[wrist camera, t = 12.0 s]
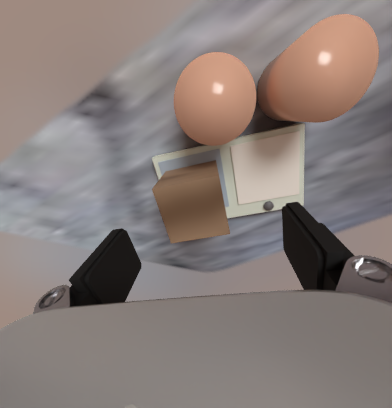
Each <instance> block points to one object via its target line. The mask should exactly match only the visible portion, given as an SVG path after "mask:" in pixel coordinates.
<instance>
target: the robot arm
mask: <svg viewBox="0 0 392 408" xmlns="http://www.w3.org/2000/svg"><path fill="white" fill-rule="evenodd" d="M282 219H283V245H284V251H285V253H286V255H287V257H288V259H289V261H290V263H291V265H292V267H293V269H294V271H295V273H296V275H297V277H298V279H299V281H300V283H301V285H302V287H303V288H304V290H291V291H290V290H289V291H271V292H254V293H240V294H227V295H226V294H225V295H211V296H197V297H184V298H171V299H157V300H145V301H132V302H125V300H126V298H127V296H128V294H129V292H130V290H131V288H132V286H133V284H134V281H135V279H136V277H137V275H138V273H139V271H140V269H141V262H140V259H139V257H138V255H137V253H136V251H135V248H134V246H133V244H132V242H131V240H130V237H129V235H128V233H127V231H125V230H124V229H116V230H112V231H111V232H110V234H109V235H108V236H107V237H106V238H105V239H104V240H103V242H102V243H101V244H100V245H99V246H98V247H97V248H96V249H95V251H94V252H93V253H92V254H91V255H90V256H89V258H88V259H87V260H86V261H85V262H84V263H83V264H82V266H80V268H79V269H78V270H77V271H76V272H75V273H74V274H73V276H72V277H71V278H70V279H69V281H70V282H71V284H72V286H71V287H69V286H67V285H61V286H58V287H56V288H53V289H52V290H50V291H49V292H47V293H46V294H45V295H43V296H42V297H41V299H39V301H38V302H37V303H36V305H35V308H34V313H33V314H32V315H29V316H26V317H24V318H21V319H19V320H17V321H14V322H13V323H11V324H9V325H7V326H5V327H3V328H2V329H0V408H392V264H390V263H388V262H386V261H384V260H382V259H379V258H376V257H371V256H362V255H361V256H360V255H359V256H354V255H353V254H352V253H351V252H350V251H349V250H348V249H347V248H346V247H345V246H344V245H343V244H342V243H341V242H340V241H339V240H338V239H337V238H336V236H335V235H334V234H333V233H332V232H331V231H330V230H329V229H328V228H327V227H326V226H325V225H324V224H322V223H318V222H317V221H316V220H315V219H314V218H313V217H312V216H311V215H310V214H309V213H308V212H307V211H306V209H305V208H304V207H303V206H302V205H301V204H300V203H299V202H292V203H286V205H285V206H283V207H282Z"/></svg>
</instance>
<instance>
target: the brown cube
mask: <svg viewBox="0 0 392 408" xmlns="http://www.w3.org/2000/svg"><path fill="white" fill-rule="evenodd" d="M152 190H153V193H154V196H155V199H156V202H157V205H158V207H159V210H160V213H161V216H162V219H163V222H164V224H165V227H166V230H167V233H168V236H169V239H170V241H171V243H177V242H183V241H189V240H195V239H201V238H208V237H214V236H220V235H226V234H230V231H229V226H228V220H227V215H226V210H225V204H224V199H223V194H222V188H221V183H220V178H219V173H218V168H217V163H216V160H214V161H210V162H205V163H201V164H196V165H192V166H187V167H183V168H178V169H174V170H169V171H165V173H164V174H163V175H162V177H161V178H160V179H159V181H158V182H157V183H156V185H155V186H154V187H153V189H152Z"/></svg>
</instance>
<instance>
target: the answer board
mask: <svg viewBox="0 0 392 408" xmlns="http://www.w3.org/2000/svg"><path fill="white" fill-rule="evenodd" d="M304 137H305V123H298V124H293V125H289V126H284V127H280V128H276V129H271V130H267V131H263V132H258V133H254V134H249V135H245V136H241V137H237V138H235V139H234V140H232V141H230V142H228V143H226V144H222V145H217V146H210V145H201V146H197V147H193V148H188V149H184V150H179V151H175V152H171V153H166V154H162V155H157V156H154V157H153V158H152V160H153V163H154V166H155V169H156V172H157V176H158V179H160V178H161V177H162V175H163V174H164V173H165V171H169V170H174V169H178V168H183V167H187V166H192V165H196V164H201V163H205V162H210V161H214V160H216V163H217V168H218V173H219V178H220V183H221V188H222V194H223V199H224V204H225V210H226V215H227V218H232V217H238V216H244V215H250V214H256V213H262V212H268V211H274V210H280V209H282V207H283V206H285V205H286V203H292V202H299V203H300V204H301V205H302V206H303V204H304Z"/></svg>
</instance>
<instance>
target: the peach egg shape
mask: <svg viewBox="0 0 392 408" xmlns="http://www.w3.org/2000/svg"><path fill="white" fill-rule="evenodd" d="M378 56H379V48H378V42H377V38H376V35H375V33H374V31H373V29H372V28H371V26H370V25H369V24H368V23H367V22H366V21H364V20H363V19H361V18H359V17H357V16H354V15H348V14H341V15H335V16H331V17H328V18H326V19H324V20H322V21H320V22H318V23H317V24H315V25H314V26H312V27H311V28H310V29H309V30H308V31H306V32H305V33H304V34H303V35H302V36H301V37H299V38H298V39H297V40H296V41H295V42H294V43H292V44H291V45H290V46H289V47H288V48H287V49H285V50H284V51H283V52H282V53H281V54H280V55H278V56H277V57H276V58H275V59H274V60H273V61H272V62H270V63H269V65H268V66H267V67H266V68H265V70H264V71H263V73H262V75H261V77H260V80H259V83H258V88H257V98H258V103H259V106H260V108H261V110H262V111H263V112H264V114H266V115H267V116H268V117H270V118H272V119H274V120H280V121H298V122H325V121H329V120H332V119H334V118H337V117H339V116H340V115H342V114H344V113H345V112H347V111H348V110H350V109H351V108H352V107H353V106H354V105H355V104H356V103H357V102H358V101H359V100H360V99H361V98H362V96H363V95H364V94H365V92H366V91H367V89H368V88H369V86H370V84H371V82H372V80H373V77H374V75H375V72H376V69H377V64H378Z"/></svg>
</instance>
